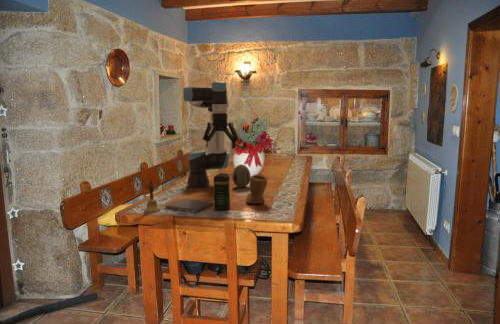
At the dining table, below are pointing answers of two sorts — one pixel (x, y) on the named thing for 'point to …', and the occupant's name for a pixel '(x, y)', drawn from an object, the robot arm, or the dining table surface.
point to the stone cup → (257, 189)
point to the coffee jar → (221, 191)
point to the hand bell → (151, 200)
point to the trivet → (190, 205)
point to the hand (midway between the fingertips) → (221, 154)
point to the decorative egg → (241, 176)
